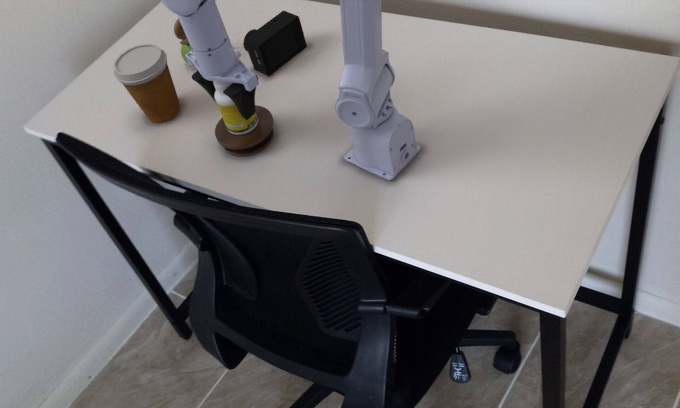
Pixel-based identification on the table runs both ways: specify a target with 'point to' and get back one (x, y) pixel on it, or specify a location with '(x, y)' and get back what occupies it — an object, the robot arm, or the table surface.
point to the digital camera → (275, 43)
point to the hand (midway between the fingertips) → (237, 109)
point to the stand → (247, 135)
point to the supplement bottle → (232, 112)
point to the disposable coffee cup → (148, 81)
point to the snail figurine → (181, 35)
